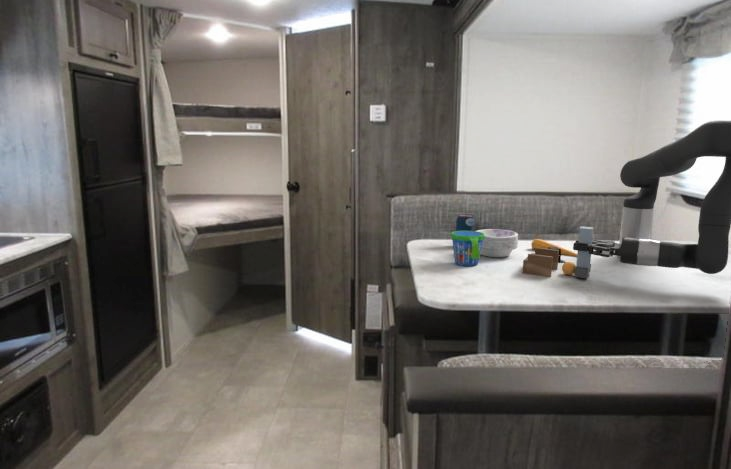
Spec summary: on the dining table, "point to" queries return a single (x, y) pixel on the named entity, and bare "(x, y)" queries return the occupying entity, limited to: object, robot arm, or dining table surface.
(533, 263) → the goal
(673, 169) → the robot arm
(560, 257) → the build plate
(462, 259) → the snack cup
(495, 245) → the paper bowls
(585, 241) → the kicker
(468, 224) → the soda can
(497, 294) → the dining table surface
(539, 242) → the carrot
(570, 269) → the ball
